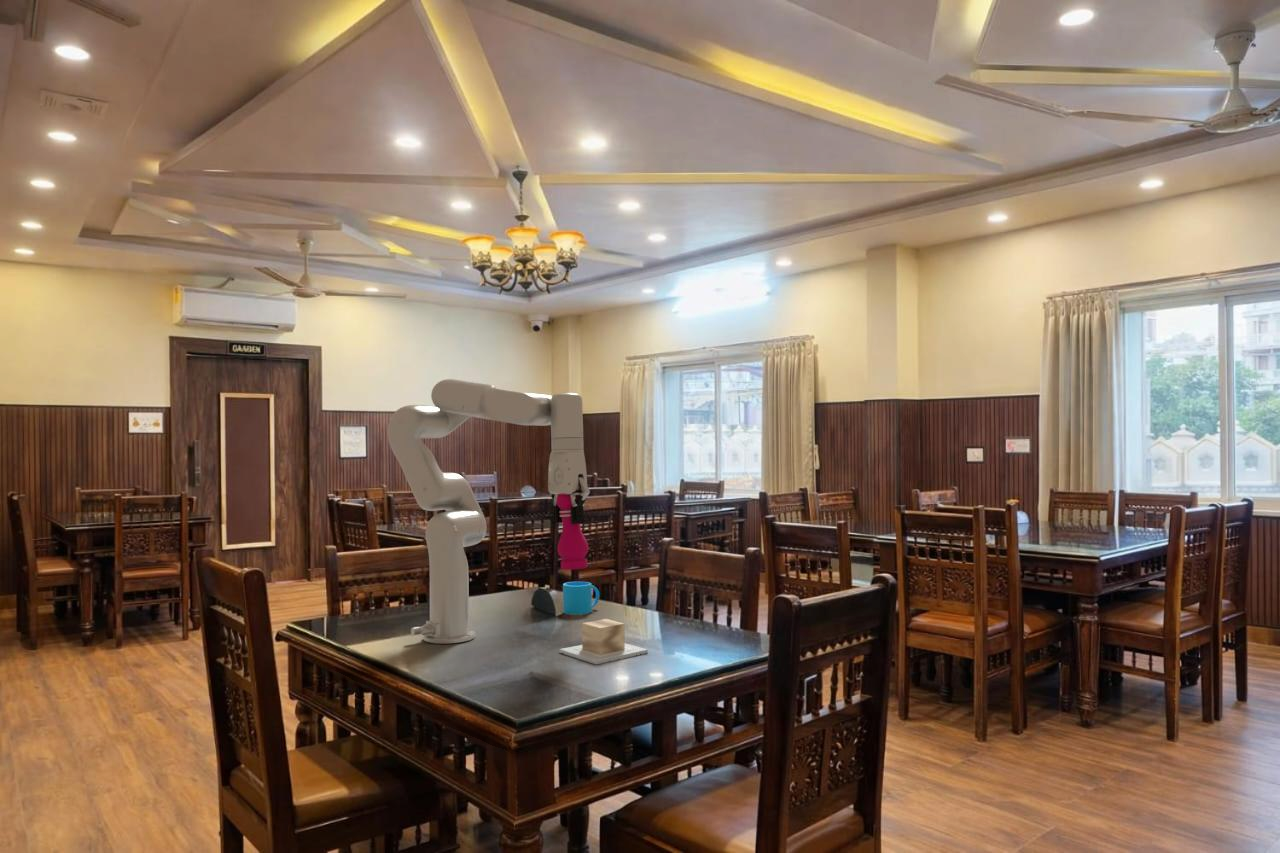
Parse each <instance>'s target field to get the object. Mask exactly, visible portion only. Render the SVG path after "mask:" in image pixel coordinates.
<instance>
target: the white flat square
mask: <svg viewBox="0 0 1280 853" xmlns="http://www.w3.org/2000/svg"><path fill="white" fill-rule="evenodd" d="M559 653H560V654H562V653H563V655H566V656H569V657H571V658H575V659H578V660H580V661H584V662H587V663H590V664H593V665H600V664H604V663H609V661H610V662H613V661H618V659H619V660H623V659H627V658H632V657H636V655H637V656H641V655H646V654H649V649H647V648H644V647H639V646H637V645H633V644H629V643H626V642H625V650H621V651H616V652H611V653H607V654H602V655H600V654H597V653H593V652H590V651H587V650H584V649H582V644H579V645H574V646H569V647H564V648H559ZM645 653H646V654H645ZM640 654H641V655H640Z"/></svg>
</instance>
